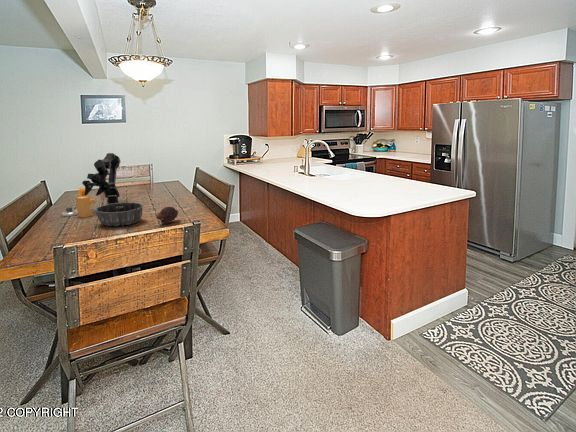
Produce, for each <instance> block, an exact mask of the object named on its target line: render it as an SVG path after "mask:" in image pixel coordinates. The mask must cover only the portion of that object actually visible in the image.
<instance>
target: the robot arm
mask: <svg viewBox="0 0 576 432" xmlns="http://www.w3.org/2000/svg"><path fill="white" fill-rule="evenodd" d="M120 164H121V159H120V156H118V155H116V153H113V152H108V153H106V155H105V157H104V158H103V159H97V160H96V161H95V162H94V164H93V166H94V168H95V170H96V172H97V173H87V176H86V177H87V178H86V180H83V181H82V185H83V187H84V188H85V195H87V194H88V195H89V194H90V192H91V191H92V190H93V188H94V187H98V189H97V192H96V194H95V196H96V197H99V196H100V195H102V194H103V193H104V197H105V198H107V199H106V202H107V203H106V205H107V204H114V203H119V197H120V192H119V190H118V187H117V186H116V178H117V172H118V171H117V170H118V168H119V167H120ZM107 176H108V181H107V179H106V178H107ZM88 195H87V196H88Z"/></svg>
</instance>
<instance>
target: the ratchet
mask: <svg viewBox="0 0 576 432" xmlns="http://www.w3.org/2000/svg"><path fill="white" fill-rule="evenodd" d="M93 209H94V208H93V206H91V211H93ZM65 210H66V211H63V212H61V216H62V217H67V218H69V217H75V216H78V212H77V209H75V210H73V207H72V206H71V207H65Z"/></svg>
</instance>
